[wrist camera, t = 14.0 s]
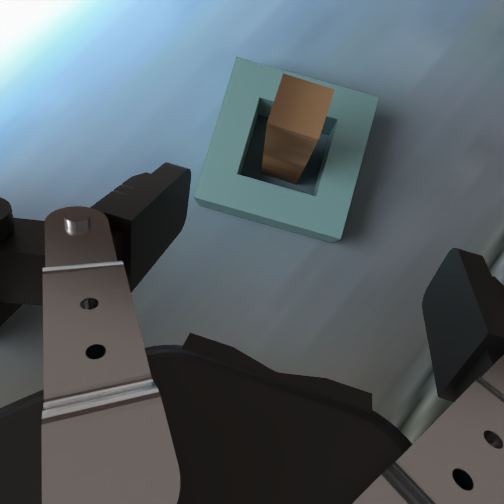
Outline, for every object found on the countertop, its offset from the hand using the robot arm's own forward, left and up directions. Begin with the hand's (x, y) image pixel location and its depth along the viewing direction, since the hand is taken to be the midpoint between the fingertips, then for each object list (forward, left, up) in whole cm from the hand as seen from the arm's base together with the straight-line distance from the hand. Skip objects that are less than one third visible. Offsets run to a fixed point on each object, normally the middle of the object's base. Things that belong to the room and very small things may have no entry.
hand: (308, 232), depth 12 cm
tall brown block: (+1, -8, -19) cm, 21 cm away
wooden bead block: (+1, -8, -19) cm, 21 cm away
